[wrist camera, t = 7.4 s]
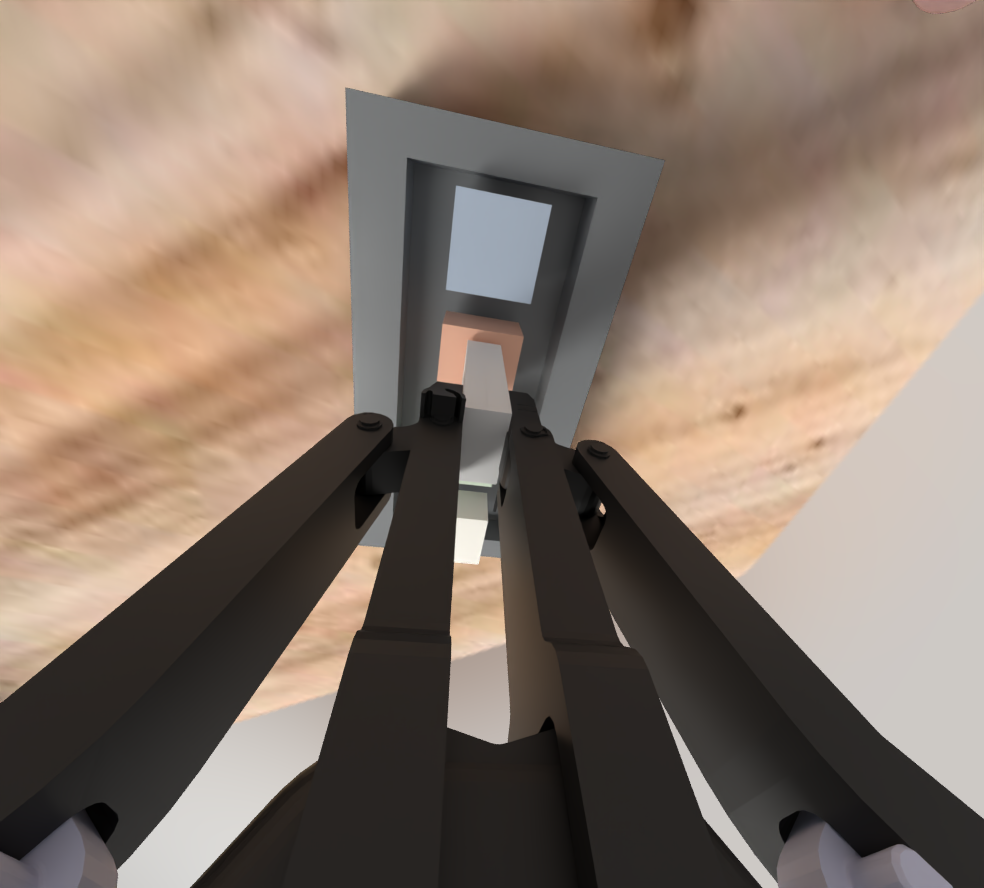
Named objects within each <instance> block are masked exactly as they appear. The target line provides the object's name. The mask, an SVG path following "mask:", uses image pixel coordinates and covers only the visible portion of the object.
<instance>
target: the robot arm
mask: <svg viewBox="0 0 984 888" xmlns="http://www.w3.org/2000/svg"><path fill="white" fill-rule="evenodd" d="M537 412H538V411H537V408H536V404H535V401H534V399H533V398H532V397H531V396H530V395H529V394H528V393H523V392H516V391H509V390H508V385H507V379H506V373H505V367H504V361H503V355H502V349H501V345H497V344H491V343H485V342H478V341H472V340H468V341H467V349H466V356H465V364H464V371H463V378H462V385H460V384H453V383H446V382H439V381H437V382H436V383H434V384H433V385H431V386H430V387H428V388H426V389H424V390H423V391H422V392H421V403H420V417H419V421H418V422H417V423H415V424H413V425H409V426H403V427H394V425H393V422H392V420H391V419H390V418H388V417H387V416H384V415H382V414H378V413H374V412H368V413H367V412H363V413H359V414H355V415H352V416H351V417H349V418H347V419H346V420H345V421H344V422H342V423H341V424H340V425H339V426H337V427H336V428H335V429H334V430H333V431H331V432H330V433H329V434H328V435H327V436H325V437H324V438H323V439H322V440H320V441H319V442H318V443H317V444H316V445H314V446H313V447H312V448H311V449H310V450H308V451H307V452H306V453H305V454H303V455H302V456H301V457H300V458H299V459H297V460H296V461H295V462H294V463H292V464H291V465H290V466H289V467H288V468H286V469H285V470H284V471H283V472H282V473H280V474H279V475H278V476H277V477H275V478H274V479H273V480H272V481H271V482H269V483H268V484H267V485H266V486H265V487H263V488H262V489H261V490H260V491H258V492H257V493H256V494H255V495H254V496H252V497H251V498H250V499H249V500H248V501H246V502H245V503H244V504H243V505H241V506H240V507H239V508H238V509H237V510H235V511H234V512H233V513H232V514H230V515H229V516H228V517H227V518H226V519H224V520H223V521H222V522H221V523H220V524H218V525H217V526H216V527H215V528H213V529H212V530H211V531H210V532H209V533H207V534H206V535H205V536H204V537H203V538H201V539H200V540H199V541H198V542H196V543H195V544H194V545H193V546H192V547H190V548H189V549H188V550H187V551H185V552H184V553H183V554H182V555H181V556H179V557H178V558H177V559H176V560H175V561H173V562H172V563H171V564H170V565H168V566H167V567H166V568H165V569H164V570H162V571H161V572H160V573H159V574H158V575H156V576H155V577H154V578H153V579H151V580H150V581H149V582H148V583H147V584H145V585H144V586H143V587H142V588H141V589H139V590H138V591H137V592H136V593H134V594H133V595H132V596H131V597H130V598H128V599H127V600H126V601H125V602H123V603H122V604H121V605H120V606H119V607H117V608H116V609H115V610H114V611H113V612H111V613H110V614H109V615H108V616H106V617H105V618H104V619H103V620H102V621H100V622H99V623H98V624H97V625H96V626H94V627H93V628H92V629H91V630H89V631H88V632H87V633H86V634H85V635H83V636H82V637H81V638H80V639H78V640H77V641H76V642H75V643H74V644H72V645H71V646H70V647H69V648H68V649H66V650H65V651H64V652H63V653H61V654H60V655H59V656H58V657H57V658H55V659H54V660H53V661H52V662H51V663H49V664H48V665H47V666H46V667H44V668H43V669H42V670H41V671H40V672H38V673H37V674H36V675H35V676H33V677H32V678H31V679H30V680H29V681H27V682H26V683H25V684H24V685H23V686H21V687H20V688H19V689H18V690H16V691H15V692H14V693H13V694H12V695H10V696H9V697H8V698H7V699H6V700H4V701H3V702H1V703H0V888H117V879H118V873H117V869H118V868H119V867H120V866H121V865H122V864H123V863H124V862H125V861H126V860H127V859H128V858H129V857H130V856H131V855H132V854H133V852H134V851H135V850H136V849H137V848H138V847H139V845H141V843H142V842H143V841H144V840H145V839H146V837H147V836H148V835H149V834H150V833H151V832H152V831H153V829H154V828H155V827H156V826H157V825H158V824H159V822H160V821H161V820H162V819H163V818H164V817H165V815H166V814H167V813H168V812H169V811H170V810H171V808H172V807H173V806H174V804H175V803H176V802H177V800H178V799H179V797H180V796H181V795H182V793H183V792H184V791H185V789H186V788H187V787H188V786H189V784H190V783H191V782H192V780H193V779H194V778H195V776H196V775H197V774H198V773H199V771H200V770H201V768H202V767H203V765H204V764H205V763H206V761H207V760H208V758H209V757H210V755H211V754H212V753H213V751H214V750H215V748H216V747H217V746H218V744H219V742H220V741H221V740H222V738H223V737H224V735H225V734H226V733H227V731H228V730H229V728H230V727H231V726H232V724H233V723H234V721H235V720H236V718H237V717H238V716H239V714H240V713H241V711H242V710H243V708H244V707H245V706H246V704H247V703H248V701H249V700H250V698H251V697H252V696H253V694H254V693H255V691H256V690H257V688H258V687H259V686H260V684H261V683H262V681H263V680H264V678H265V677H266V676H267V674H268V673H269V671H270V670H271V668H272V667H273V666H274V664H275V663H276V661H277V660H278V658H279V657H280V656H281V654H282V653H283V651H284V650H285V648H286V647H287V646H288V644H289V643H290V641H291V640H292V638H293V637H294V636H295V634H296V633H297V631H298V630H299V628H300V627H301V626H302V624H303V623H304V621H305V620H306V618H307V617H308V616H309V614H310V613H311V611H312V610H313V608H314V607H315V606H316V604H317V603H318V601H319V600H320V598H321V597H322V596H323V594H324V593H325V591H326V590H327V588H328V587H329V586H330V584H331V583H332V581H333V580H334V578H335V577H336V576H337V574H338V573H339V571H340V570H341V568H342V567H343V566H344V564H345V563H346V561H347V560H348V558H349V557H350V556H351V554H352V553H353V551H354V550H355V548H356V547H357V546H358V544H359V543H360V541H361V540H362V538H363V537H364V536H365V534H366V533H367V531H368V530H369V528H370V527H371V526H372V524H373V523H374V521H375V520H376V518H377V517H378V516H379V514H380V513H381V511H382V510H383V508H384V507H385V506H386V504H387V503H388V501H389V499H390V497H391V493H396V492H399V495H398V499H397V502H396V506H395V510H394V514H393V517H392V521H391V525H390V528H389V532H388V536H387V540H386V543H385V547H384V551H383V554H382V558H381V562H380V566H379V569H378V573H377V577H376V580H375V584H374V588H373V591H372V595H371V599H370V603H369V606H368V610H367V614H366V617H365V621H364V624H363V627H362V629H361V630H358V631H357V632H356V634H355V636H354V638H353V641H352V644H351V648H350V651H349V654H348V657H347V661H346V664H345V668H344V671H343V675H342V678H341V682H340V685H339V689H338V692H337V696H336V700H335V703H334V707H333V710H332V713H331V717H330V720H329V724H328V728H327V731H326V734H325V739H324V741H323V745H322V749H321V752H320V755H319V759H318V761H316V762H315V763H314V764H312V765H311V766H309V767H308V768H307V769H305V770H304V771H302V772H301V773H300V774H299V775H297V776H296V777H295V778H294V779H293V780H292V781H291V782H290V783H288V784H287V785H286V786H285V787H284V788H283V789H282V790H281V791H280V792H279V793H278V794H277V795H276V796H275V797H274V798H273V799H272V800H271V801H270V802H269V803H268V804H267V805H266V806H265V807H264V809H263V810H262V811H261V812H260V813H259V814H258V815H257V816H256V817H255V818H254V819H253V820H252V821H251V823H250V824H249V825H248V826H247V827H246V828H245V829H244V830H243V831H242V832H241V833H240V834H239V836H238V837H237V838H236V839H235V840H234V841H233V842H232V843H231V844H230V845H229V846H228V847H227V849H226V850H225V851H224V852H223V853H222V854H221V855H220V856H219V857H218V858H217V859H216V860H215V861H214V863H213V864H212V865H211V866H210V867H209V868H208V869H207V870H206V871H205V872H204V873H203V874H202V875H201V877H200V878H199V879H198V880H197V881H196V882H195V883H194V884H193V885H192V886H191V887H190V888H762V887H761V886H760V884H759V883H758V882H757V881H756V880H755V879H754V878H753V876H752V875H751V874H750V873H749V871H748V870H747V869H746V868H745V867H744V866H743V864H742V863H741V862H740V861H739V860H738V858H737V857H736V856H735V855H734V854H733V853H732V851H731V850H730V849H729V848H728V847H727V846H726V844H725V843H724V842H723V841H722V840H721V838H720V837H719V836H718V835H717V834H716V833H715V832H714V830H713V829H712V828H711V827H710V825H709V824H707V822H706V821H705V820H704V818H703V817H702V814H701V811H700V808H699V806H698V803H697V800H696V797H695V795H694V792H693V789H692V787H691V784H690V781H689V778H688V776H687V773H686V771H685V768H684V765H683V762H682V759H681V757H680V754H679V751H678V748H677V746H676V743H675V740H674V737H673V735H672V732H671V729H670V726H669V724H668V721H667V718H666V716H665V713H664V710H663V708H662V705H661V702H662V703H663V705H664V707H665V709H666V711H667V712H668V714H669V716H670V718H671V719H672V721H673V723H674V725H675V726H676V728H677V730H678V732H679V734H680V735H681V737H682V739H683V741H684V742H685V744H686V746H687V748H688V749H689V751H690V753H691V755H692V756H693V758H694V760H695V762H696V764H697V765H698V767H699V769H700V770H701V772H702V774H703V776H704V778H705V779H706V781H707V783H708V784H709V786H710V787H711V789H712V791H713V792H714V794H715V796H716V797H717V799H718V801H719V802H720V804H721V805H722V807H723V809H724V810H725V812H726V814H727V815H728V817H729V818H730V820H731V821H732V823H733V824H734V825H735V827H736V828H737V830H738V831H739V833H740V834H741V835H742V837H743V838H744V840H745V841H746V843H747V844H748V845H749V847H750V848H751V850H752V851H753V852H754V854H755V855H756V856H757V858H758V859H759V860H760V862H761V863H762V864H763V865H764V867H765V868H766V869H767V870H768V872H769V873H770V874H771V875H772V877H773V878H774V879H775V880H776V882H777V883H778V886H779V888H984V819H983V818H982V817H980V816H979V815H978V814H977V813H976V812H974V811H973V810H972V809H971V808H970V807H968V806H967V805H966V804H965V803H963V802H962V801H961V800H960V799H958V798H957V797H956V796H955V795H954V794H952V793H951V792H950V791H949V790H948V789H946V788H945V787H944V786H943V785H941V784H940V783H939V782H938V781H937V780H935V779H934V778H933V777H932V776H930V775H929V774H928V773H927V772H925V771H924V770H923V769H922V768H921V767H919V766H918V765H917V764H916V763H915V762H913V761H912V760H911V759H910V758H908V757H907V756H906V755H905V754H904V753H902V752H901V751H900V750H899V749H897V748H896V747H895V746H894V745H893V744H891V743H890V742H889V741H888V740H886V739H885V738H884V737H883V736H882V735H880V733H879V732H877V730H876V729H875V728H874V727H873V726H872V725H871V724H870V723H869V722H868V721H867V720H866V719H865V717H863V715H861V713H860V712H859V711H858V710H857V709H856V708H855V707H854V706H853V704H852V703H851V702H850V701H849V700H848V699H847V698H846V697H845V696H844V695H843V694H842V693H841V692H840V691H839V689H838V688H837V687H836V686H835V685H834V684H833V683H832V682H831V681H830V680H829V679H828V678H827V677H826V676H825V675H824V673H823V672H822V671H821V670H820V669H819V668H818V667H817V666H816V665H815V664H814V663H813V662H812V660H811V659H810V658H809V657H808V656H807V655H806V654H805V653H804V652H803V651H802V650H801V649H800V648H799V647H798V645H797V644H796V643H795V642H794V641H793V640H792V639H791V638H790V637H789V636H788V635H787V634H786V633H785V631H783V629H782V628H781V627H780V626H779V625H778V624H777V623H776V622H775V621H774V620H773V619H772V618H771V616H770V615H769V614H768V613H767V612H766V611H765V610H764V609H763V608H762V607H761V606H760V605H759V604H758V603H757V601H756V600H755V599H754V598H753V597H752V596H751V595H750V594H749V593H748V592H747V591H746V590H745V589H744V588H743V586H742V585H741V584H740V583H739V582H738V581H737V580H736V579H735V578H734V577H733V576H732V575H731V574H730V572H729V571H728V570H727V569H726V568H725V567H724V566H723V565H722V564H721V563H720V562H719V561H718V560H717V558H716V557H715V556H714V555H713V554H712V553H711V552H710V551H709V550H708V549H707V548H706V547H705V546H704V545H703V543H702V542H701V541H700V540H699V539H698V538H697V537H696V536H695V535H694V534H693V533H692V532H691V531H690V530H689V528H688V527H687V526H686V525H685V524H684V523H683V522H682V521H681V520H680V519H679V518H678V517H677V516H676V514H675V513H674V512H673V511H672V510H671V509H670V508H669V507H668V506H667V505H666V504H665V503H664V502H663V501H662V499H661V498H660V497H659V496H658V495H657V494H656V493H655V492H654V491H653V490H652V489H651V488H650V487H649V485H648V484H647V483H646V482H645V481H644V480H643V479H642V478H641V477H640V476H639V475H638V474H637V473H636V472H635V470H634V469H633V468H632V467H631V466H630V465H629V464H628V463H627V462H626V461H625V460H624V459H623V458H622V457H621V455H620V454H619V453H618V452H617V451H616V450H614V449H613V448H612V447H610V446H608V445H606V444H605V443H603V442H601V441H600V442H599V441H596V440H584V441H581V442H579V443H578V445H577V448H576V450H574V449H571V448H567V447H564V446H561V445H559V444H557V443H555V441H554V438H553V435H552V433H551V431H550V430H549V429H547V428H546V427H545V426H542V425H541V422H540V418H539V415H538V413H537ZM498 475H499V479H500V482H499V486H498V491H497V495H496V500H495V504H494V509H493V512H496V511H497V507H498V521H499V537H500V553H501V569H502V585H503V601H504V617H505V633H506V648H507V664H508V680H509V696H510V727H509V735H508V743H505V744H493V743H489V742H487V741H483V740H481V739H478V738H475V737H472V736H470V735H467V734H464V733H461V732H459V731H456V730H453V729H450V728H447V715H448V698H449V680H450V664H451V636H450V616H451V601H452V585H453V569H454V553H455V538H456V522H457V506H458V490H459V480H460V481H468V482H477V483H486V484H495V485H496V484H497V480H498ZM601 503H603V505H604V507H605V510H606V513H605V514H604V515H603V514H602V513H601V511H600V510H599V508H600V505H601ZM609 610H610V611H609ZM610 612H611V614H612V616H613V617H614V619H615V621H616V623H617V624H618V626H619V628H620V630H621V632H622V633H623V635H624V637H625V638H626V640H627V642H628V644H629V646H630V647H631V648H630V647H624V646H623V645H622V643H621V642H620V641H619V638H618V636H617V633H616V630H615V627H614V624H613V621H612V618H611V614H610ZM659 698H660V699H659ZM660 700H661V702H660Z"/></svg>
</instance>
